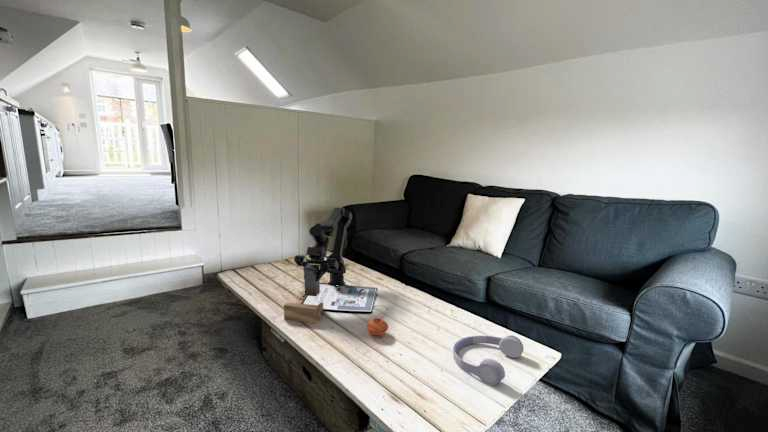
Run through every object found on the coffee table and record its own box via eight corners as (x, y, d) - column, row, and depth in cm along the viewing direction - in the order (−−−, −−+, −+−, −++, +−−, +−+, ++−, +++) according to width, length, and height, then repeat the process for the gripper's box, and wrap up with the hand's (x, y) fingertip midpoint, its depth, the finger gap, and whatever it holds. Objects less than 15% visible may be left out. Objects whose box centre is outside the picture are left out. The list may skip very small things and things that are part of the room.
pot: (393, 334, 128) (391, 319, 125) (378, 345, 123) (375, 330, 121) (379, 325, 134) (377, 310, 131) (364, 335, 129) (361, 321, 127)
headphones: (525, 357, 116) (471, 339, 129) (526, 337, 115) (471, 321, 128) (500, 390, 99) (440, 366, 112) (501, 368, 98) (440, 346, 111)
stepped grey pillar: (308, 291, 148) (308, 264, 146) (319, 292, 147) (319, 265, 145) (303, 296, 143) (303, 267, 141) (314, 297, 142) (314, 269, 140)
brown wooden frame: (296, 307, 148) (296, 294, 147) (327, 311, 146) (327, 297, 144) (284, 319, 138) (283, 305, 137) (316, 323, 135) (316, 309, 134)
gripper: (295, 237, 147) (283, 269, 139) (336, 240, 144) (326, 274, 135) (303, 249, 156) (292, 281, 148) (342, 253, 153) (333, 285, 144)
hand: (310, 280), depth 143 cm, fingers closed on stepped grey pillar, 5 cm apart
